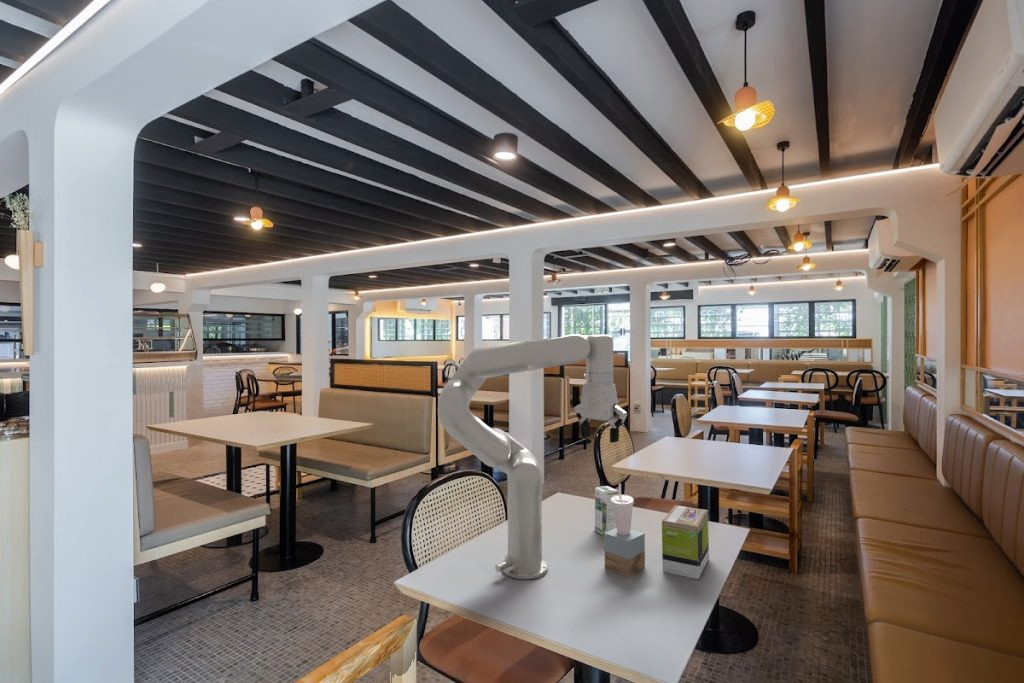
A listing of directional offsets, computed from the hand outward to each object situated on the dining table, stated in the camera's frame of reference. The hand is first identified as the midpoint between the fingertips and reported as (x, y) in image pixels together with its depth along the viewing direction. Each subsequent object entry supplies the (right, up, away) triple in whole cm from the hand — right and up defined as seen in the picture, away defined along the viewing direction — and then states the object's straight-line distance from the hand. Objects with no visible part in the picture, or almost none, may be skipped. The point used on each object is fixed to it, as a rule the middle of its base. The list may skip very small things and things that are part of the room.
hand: (599, 439), depth 146 cm
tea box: (+25, -37, +2) cm, 44 cm away
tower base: (+7, -36, 0) cm, 37 cm away
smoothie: (+7, -26, +1) cm, 27 cm away
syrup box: (+7, -36, +27) cm, 45 cm away
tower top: (+7, -31, 0) cm, 32 cm away
